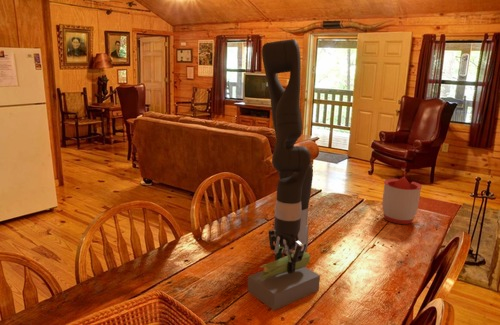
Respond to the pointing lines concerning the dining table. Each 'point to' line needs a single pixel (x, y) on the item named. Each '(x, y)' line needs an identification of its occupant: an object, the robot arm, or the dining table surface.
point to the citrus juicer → (400, 200)
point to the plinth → (283, 287)
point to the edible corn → (283, 266)
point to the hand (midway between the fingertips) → (284, 268)
